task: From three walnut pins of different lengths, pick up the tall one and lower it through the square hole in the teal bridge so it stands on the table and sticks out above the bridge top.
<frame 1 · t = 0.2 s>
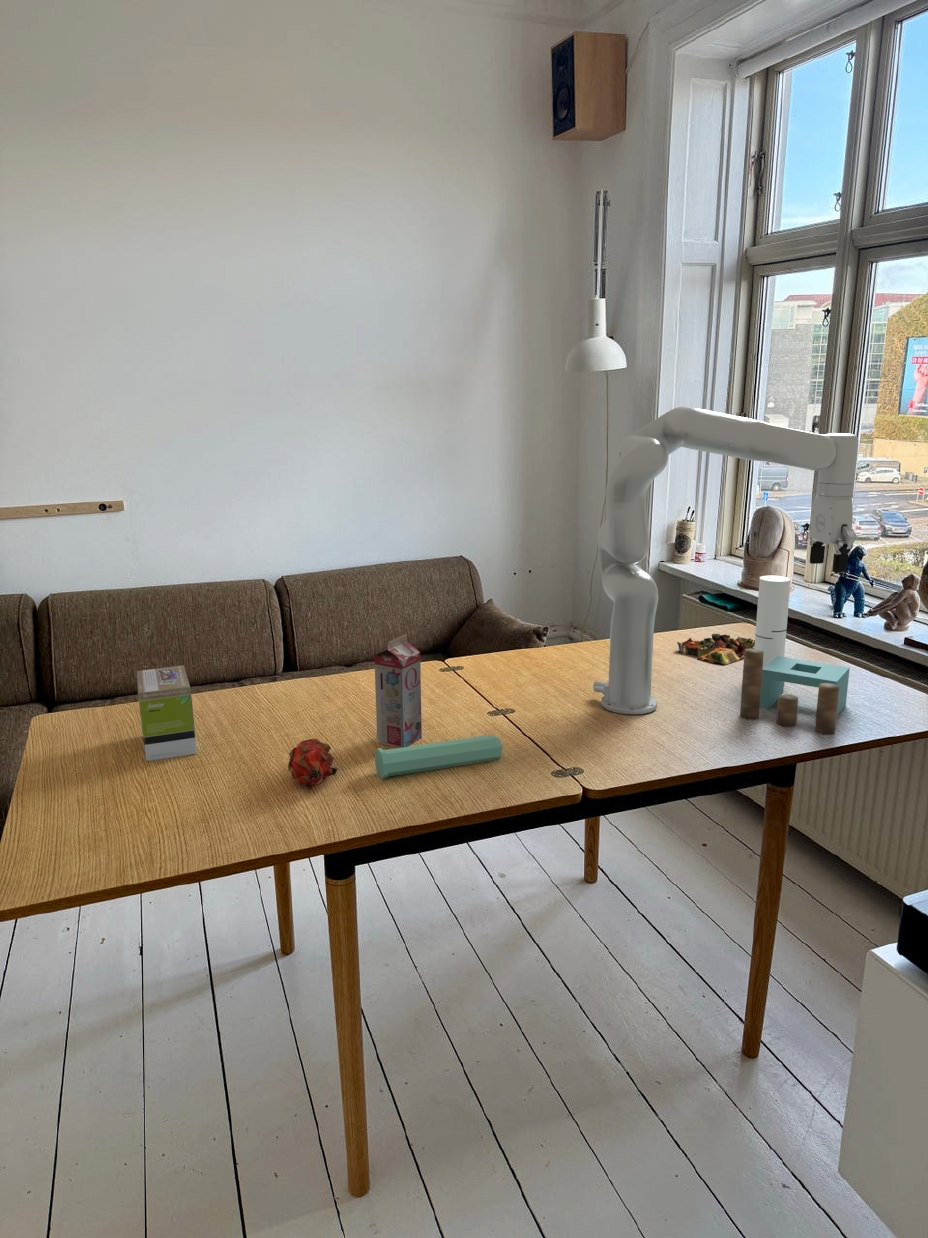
hand: (827, 567, 207), 31 cm above the table, tool pointing down, fingers open, 9 cm apart
dragon fruit: (312, 783, 173), on the table
medium pin: (824, 731, 195), on the table
container: (441, 768, 179), on the table
tea box: (169, 746, 190), on the table
food: (720, 654, 252), on the table
teal bridge: (802, 706, 210), on the table
short pin: (786, 723, 200), on the table
cylindrical container: (767, 677, 231), on the table
juice carton: (399, 741, 192), on the table
tall pin: (749, 716, 204), on the table
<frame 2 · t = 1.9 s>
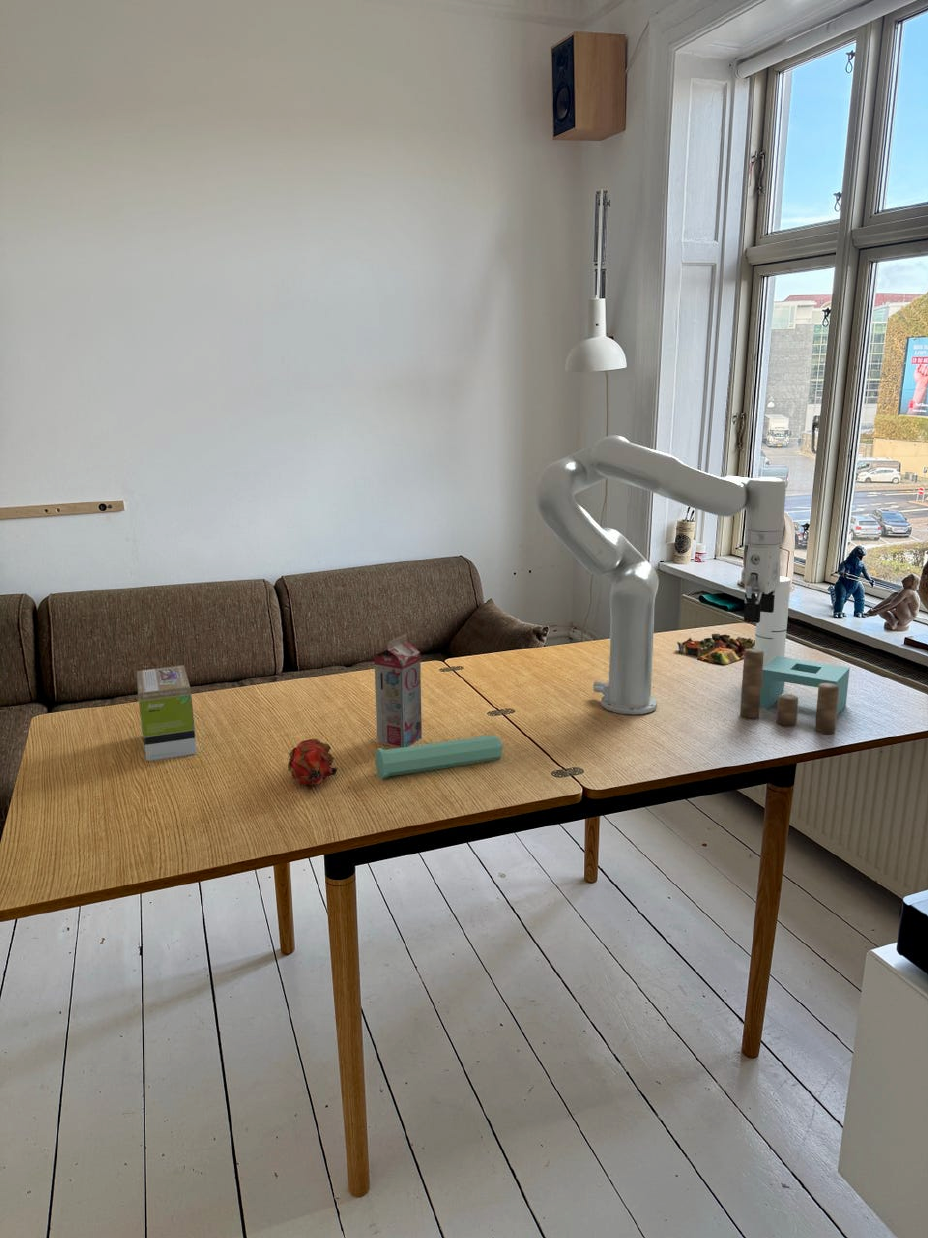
hand: (758, 616, 198), 23 cm above the table, tool pointing down, fingers open, 9 cm apart
nothing on the table moved.
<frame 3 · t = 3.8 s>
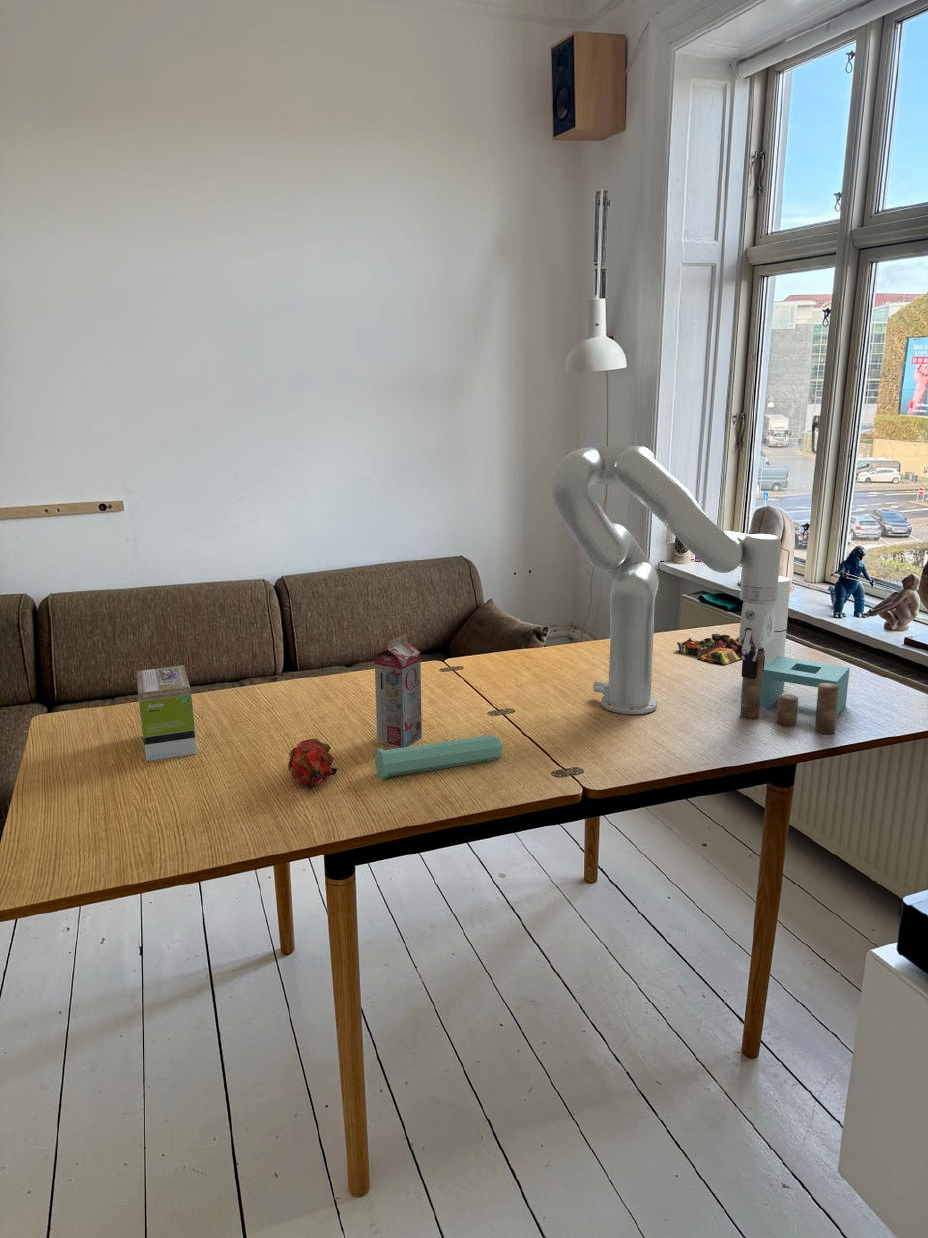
hand: (752, 674, 202), 10 cm above the table, tool pointing down, fingers closed on tall pin, 4 cm apart
tall pin: (749, 716, 204), on the table, touching gripper
everything else where it was.
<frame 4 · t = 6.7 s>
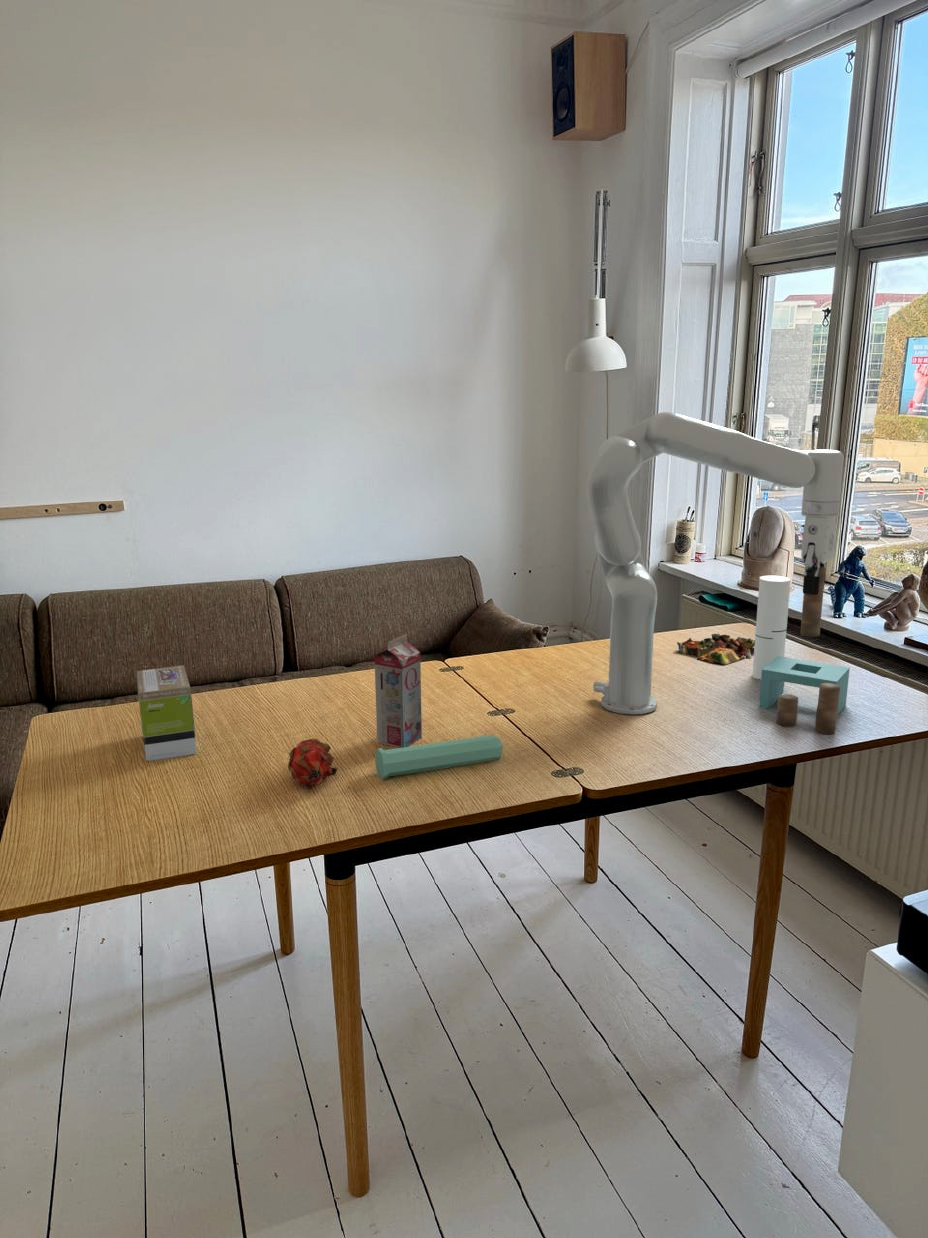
hand: (813, 590, 203), 27 cm above the table, tool pointing down, fingers closed on tall pin, 4 cm apart
tall pin: (810, 634, 206), point 17 cm above the table, touching gripper
everything else where it was.
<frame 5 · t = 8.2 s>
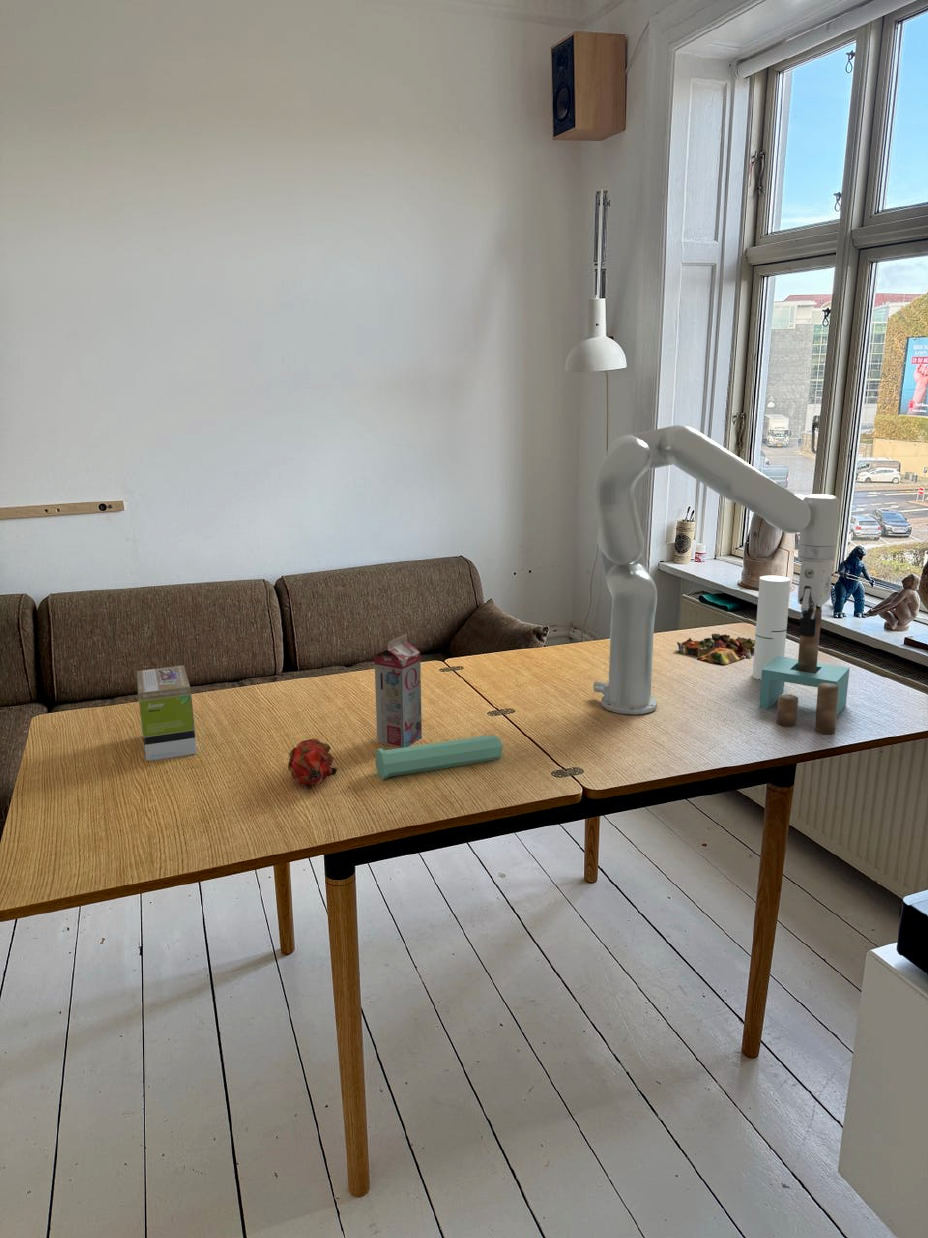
hand: (809, 632, 206), 17 cm above the table, tool pointing down, fingers closed on tall pin, 4 cm apart
tall pin: (806, 674, 208), point 8 cm above the table, touching gripper
everything else where it was.
when the fingers open (11 cm above the table, at t = 9.7 s): tall pin drops 1 cm, on the table.
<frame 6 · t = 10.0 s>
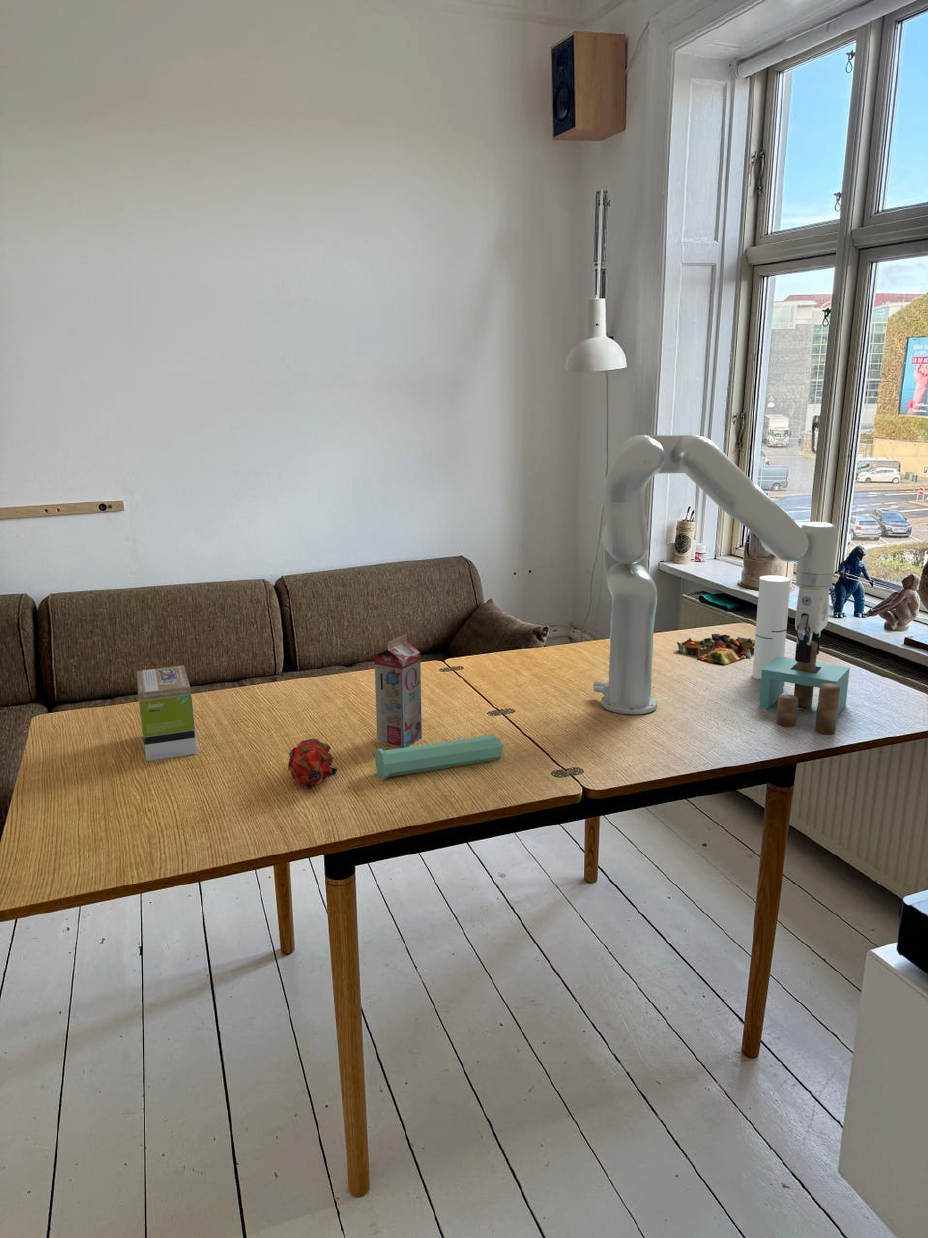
hand: (806, 657, 207), 12 cm above the table, tool pointing down, fingers open, 6 cm apart
tall pin: (802, 706, 210), on the table
everything else where it was.
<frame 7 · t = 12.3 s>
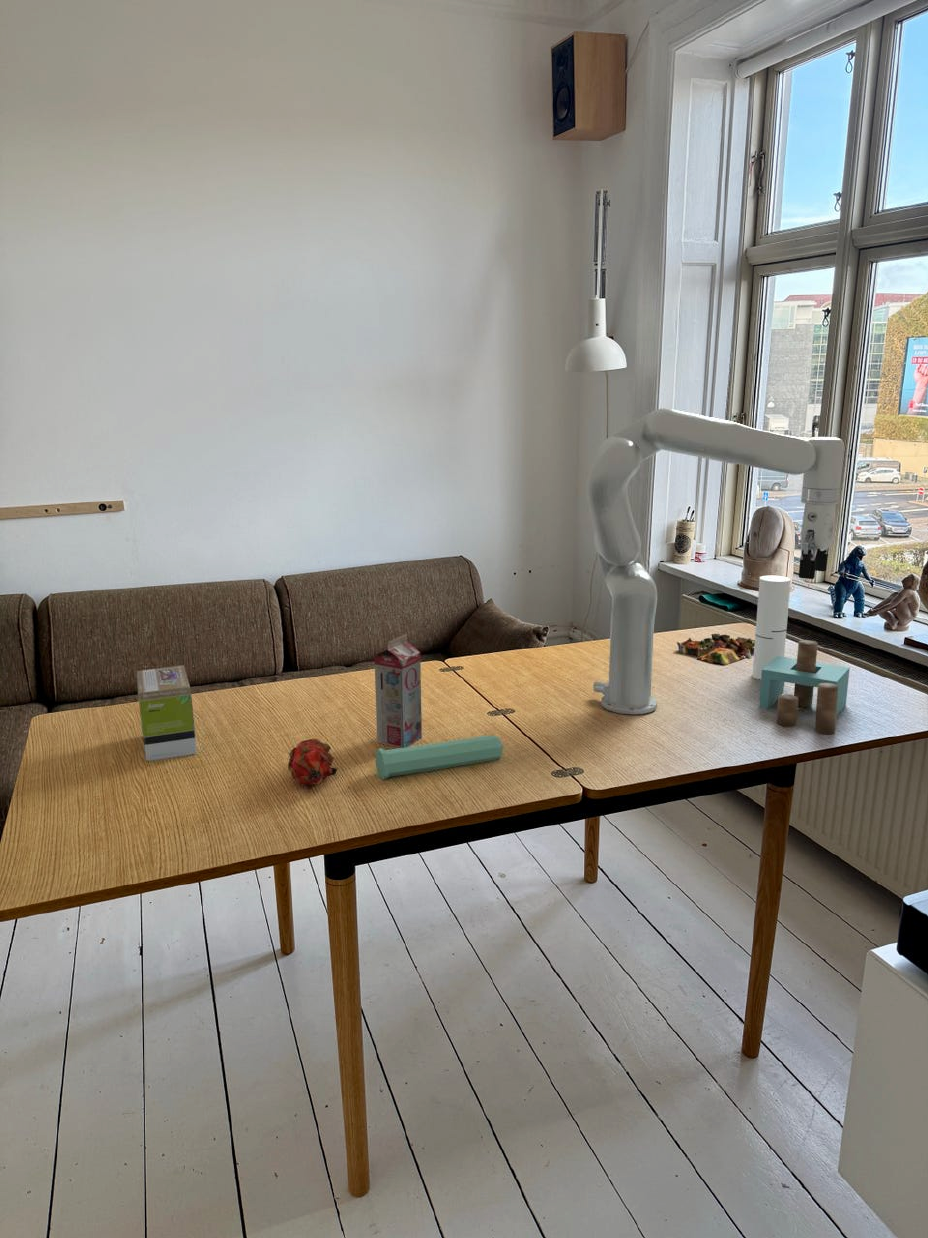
hand: (812, 574, 203), 30 cm above the table, tool pointing down, fingers open, 9 cm apart
nothing on the table moved.
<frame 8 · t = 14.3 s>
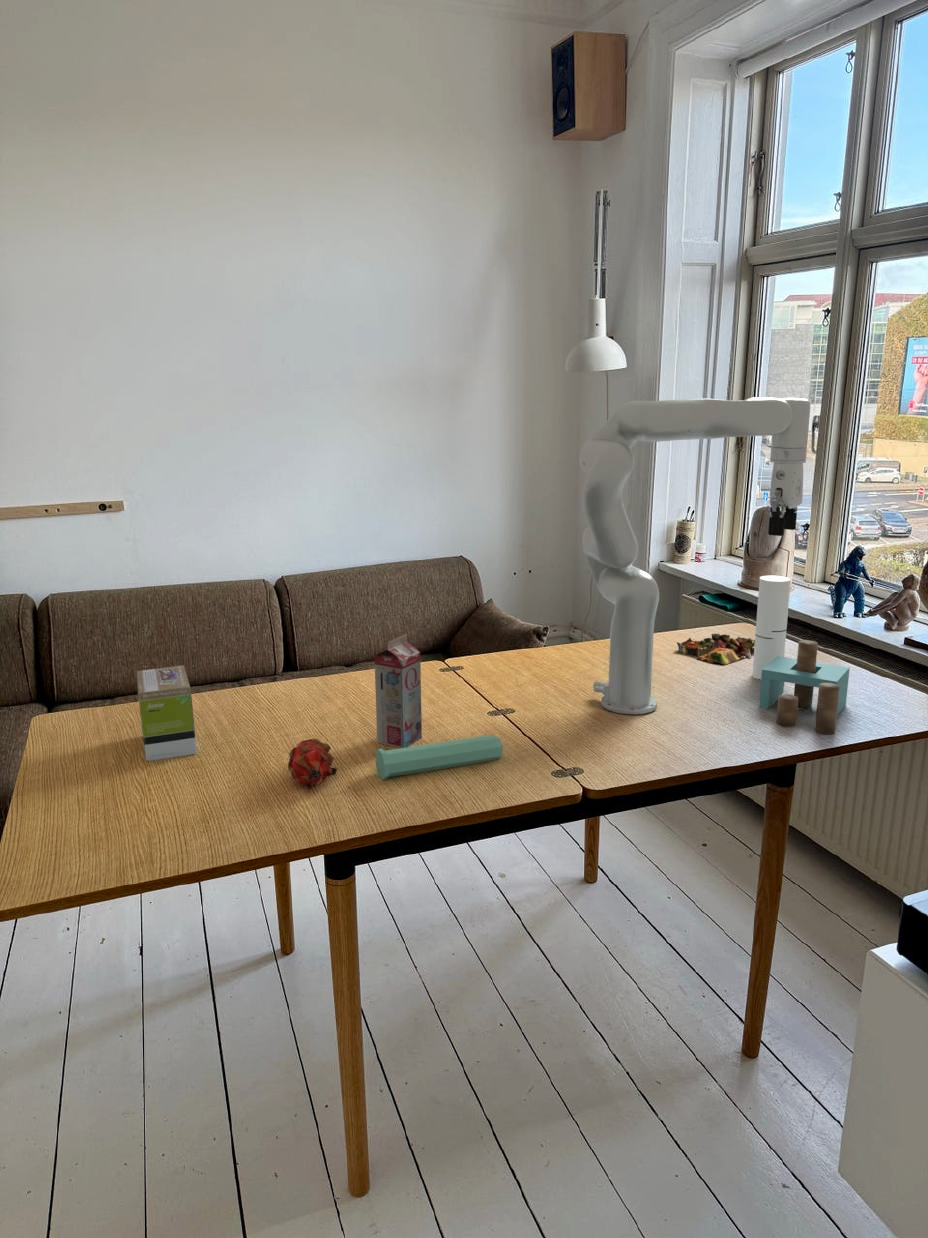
hand: (782, 532, 209), 38 cm above the table, tool pointing down, fingers open, 9 cm apart
nothing on the table moved.
at the end: tall pin 0.1 cm off-centre on the teal bridge, point 0.0 cm above the teal bridge's base; tall pin tilted 0°; the gripper is holding nothing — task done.
